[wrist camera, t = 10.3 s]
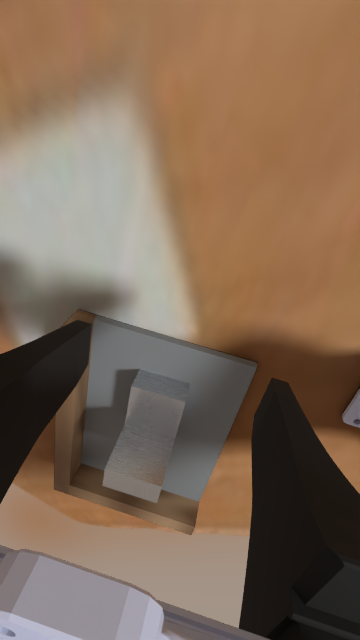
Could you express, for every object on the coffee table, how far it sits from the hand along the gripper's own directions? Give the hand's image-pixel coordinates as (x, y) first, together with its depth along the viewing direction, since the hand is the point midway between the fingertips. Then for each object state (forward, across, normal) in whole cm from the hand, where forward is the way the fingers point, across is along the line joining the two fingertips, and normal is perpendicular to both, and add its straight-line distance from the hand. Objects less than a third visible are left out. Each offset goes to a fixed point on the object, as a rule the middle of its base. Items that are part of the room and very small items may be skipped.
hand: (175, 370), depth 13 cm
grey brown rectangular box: (+10, +1, +14) cm, 17 cm away
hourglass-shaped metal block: (+9, +1, +12) cm, 15 cm away
